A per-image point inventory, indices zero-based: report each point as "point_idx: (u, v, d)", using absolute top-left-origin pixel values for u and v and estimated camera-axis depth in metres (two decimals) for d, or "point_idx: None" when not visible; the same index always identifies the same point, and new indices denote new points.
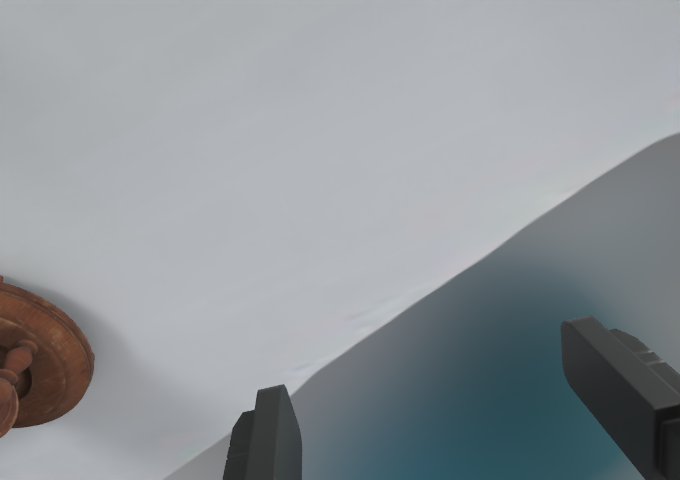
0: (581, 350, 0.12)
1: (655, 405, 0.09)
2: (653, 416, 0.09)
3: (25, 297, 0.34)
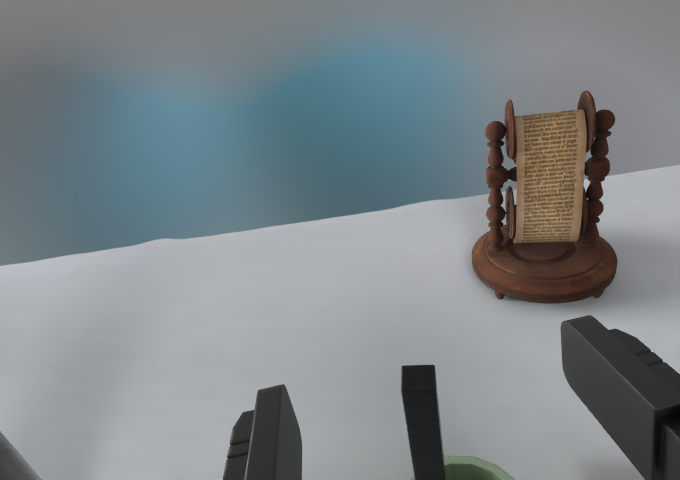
0: (581, 350, 0.12)
1: (655, 405, 0.09)
2: (653, 416, 0.09)
3: (480, 273, 0.51)
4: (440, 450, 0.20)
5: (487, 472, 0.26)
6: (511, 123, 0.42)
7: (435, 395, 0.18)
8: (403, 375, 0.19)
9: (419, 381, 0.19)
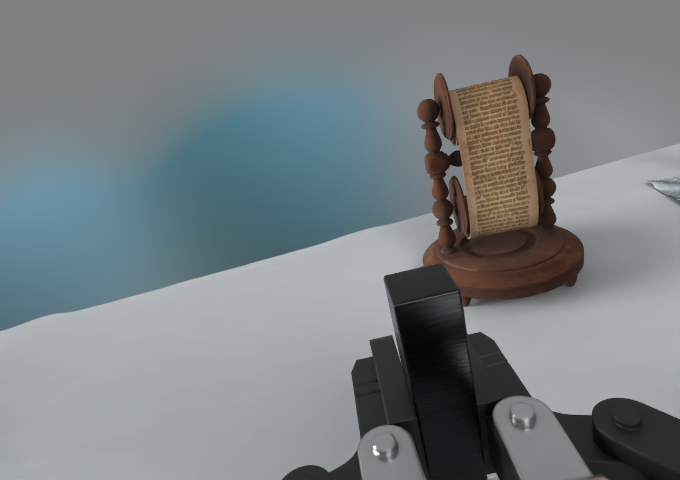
0: None
1: (477, 401, 0.10)
2: None
3: None
4: (478, 435, 0.11)
5: None
6: (445, 93, 0.37)
7: (460, 302, 0.09)
8: (390, 286, 0.10)
9: (423, 285, 0.10)
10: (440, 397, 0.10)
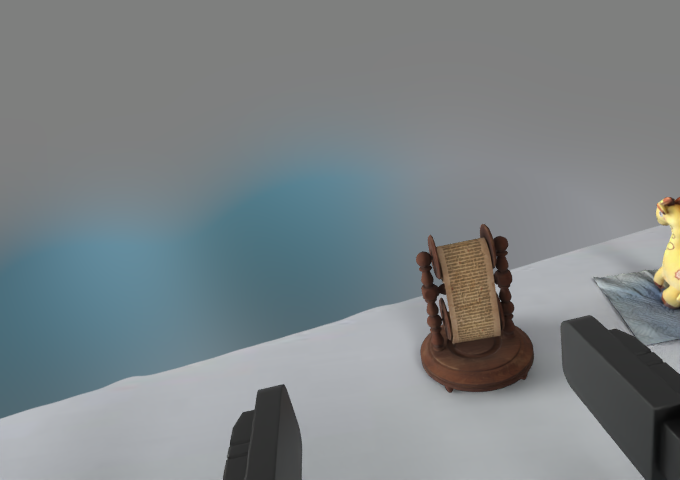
0: (581, 350, 0.12)
1: (655, 405, 0.09)
2: (653, 416, 0.09)
3: (430, 372, 0.61)
4: None
5: None
6: (435, 254, 0.55)
7: None
8: None
9: None
10: None
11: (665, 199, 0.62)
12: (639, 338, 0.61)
